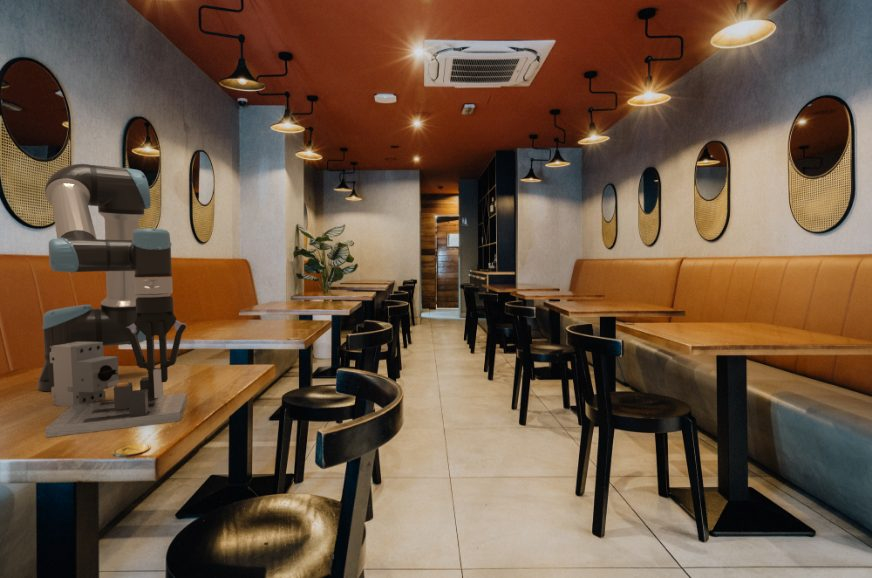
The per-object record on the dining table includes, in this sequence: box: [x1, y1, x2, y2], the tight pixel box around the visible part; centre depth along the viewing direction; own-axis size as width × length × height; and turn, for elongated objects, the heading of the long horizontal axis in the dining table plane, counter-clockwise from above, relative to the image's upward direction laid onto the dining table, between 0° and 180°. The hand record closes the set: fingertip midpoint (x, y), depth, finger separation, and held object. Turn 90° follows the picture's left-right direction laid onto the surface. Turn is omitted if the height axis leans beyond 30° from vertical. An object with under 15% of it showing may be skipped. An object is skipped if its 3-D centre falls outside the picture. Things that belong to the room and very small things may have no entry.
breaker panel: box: [45, 376, 188, 438], centre depth 110 cm, size 18×24×7 cm
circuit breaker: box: [50, 342, 120, 407], centre depth 123 cm, size 8×14×15 cm, turn 78°
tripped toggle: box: [113, 381, 134, 410], centre depth 110 cm, size 4×3×5 cm
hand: (159, 396), depth 113 cm, fingers closed
